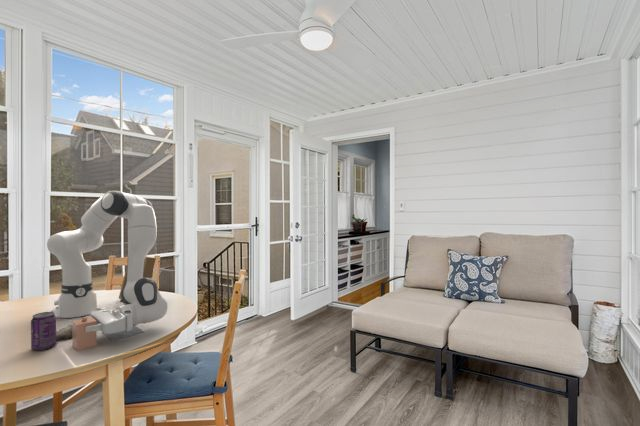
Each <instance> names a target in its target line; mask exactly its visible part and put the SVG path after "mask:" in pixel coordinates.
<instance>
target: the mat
mask: <svg viewBox="0 0 640 426" xmlns="http://www.w3.org/2000/svg"><path fill="white" fill-rule="evenodd" d="M143 333H145V331H144V330H142V329H141V328H139V327H138V326H137V325H136V326H133V327H132V330H131V331H122V332H117V333H111V334H105V333H103V332H102V331H101V334H102V335H104V336H105V338H108V339H109V340H110V341H111V342H112V341H116V340H120V339H124V338H127V337H131V336H135V335H139V334H143Z"/></svg>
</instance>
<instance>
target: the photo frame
mask: <svg viewBox="0 0 640 426" xmlns="http://www.w3.org/2000/svg"><path fill="white" fill-rule="evenodd" d="M156 259H157V258H156V257H155V256H154V257H153V256H149V255H146V257H145V260H144V266H143V278H150V279H152V275H153V272H154V267H155V265H156ZM126 276H127V267H126V268H125V272H124V276H123V280H122V284H121V287H120V291H119V294H118V300H121V301H122V298H121V292H122V289H123V287H124V285H125V282H126Z"/></svg>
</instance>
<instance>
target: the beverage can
mask: <svg viewBox="0 0 640 426" xmlns="http://www.w3.org/2000/svg"><path fill="white" fill-rule="evenodd" d="M54 314H55V313H54V312H53V311H43V312H37V313H35V314H33V315H32V318H31V321H30V348H31V349H32V350H35V351H44V350H43V349H45V350H48V349H50V347H51V348H52V347H54V346H56V345H57V341H56V331H57V318H56V316H55V315H54ZM47 348H48V349H47Z"/></svg>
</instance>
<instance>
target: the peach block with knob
mask: <svg viewBox="0 0 640 426" xmlns="http://www.w3.org/2000/svg"><path fill="white" fill-rule="evenodd" d="M87 317H88V316H81V318H79V319H76V320H75V319H74V320H72V323H71V325H72V337H71V339H72V347H73V348H74V349H75V350H76V351H81V350H84V349H89V348H93V347H96V346H97V344H98V343H97V338H98V337H97V334H98V333H97V332H98V331H90V332H86V331H85V326H88V325H96V320H95V319H94V318H92V317H89V318H87Z"/></svg>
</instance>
